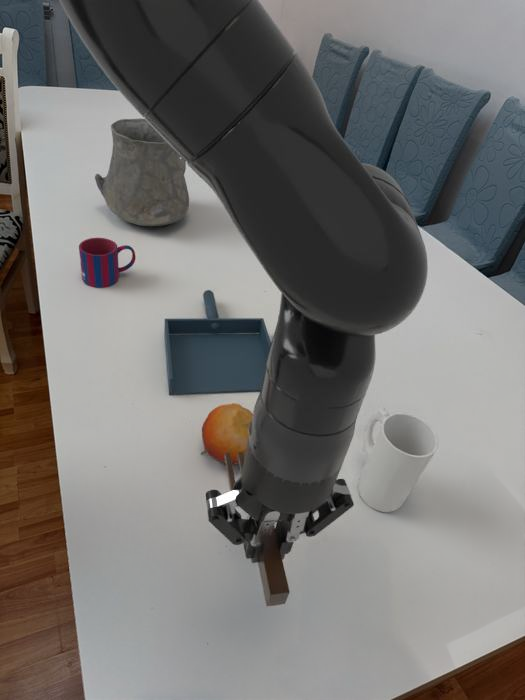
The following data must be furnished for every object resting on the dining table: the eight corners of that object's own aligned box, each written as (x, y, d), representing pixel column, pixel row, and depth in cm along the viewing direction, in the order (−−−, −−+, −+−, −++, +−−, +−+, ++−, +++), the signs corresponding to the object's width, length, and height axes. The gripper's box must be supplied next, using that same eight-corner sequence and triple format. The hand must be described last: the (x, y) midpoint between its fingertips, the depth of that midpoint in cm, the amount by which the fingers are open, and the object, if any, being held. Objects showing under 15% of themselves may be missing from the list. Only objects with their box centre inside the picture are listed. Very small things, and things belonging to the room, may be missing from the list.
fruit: (197, 411, 71) (230, 384, 66) (240, 442, 73) (274, 418, 68) (178, 455, 65) (213, 429, 60) (225, 487, 67) (262, 464, 62)
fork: (303, 601, 46) (308, 589, 44) (248, 609, 45) (251, 597, 43) (267, 457, 58) (270, 444, 56) (223, 461, 57) (225, 447, 55)
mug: (415, 507, 66) (450, 449, 58) (373, 521, 63) (403, 463, 55) (374, 448, 72) (401, 390, 65) (335, 458, 70) (357, 399, 62)
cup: (80, 269, 96) (77, 238, 92) (133, 267, 100) (132, 236, 95) (83, 288, 92) (80, 256, 87) (138, 285, 95) (138, 254, 91)
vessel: (110, 244, 105) (105, 148, 92) (92, 199, 120) (85, 111, 107) (208, 237, 113) (215, 148, 101) (179, 195, 128) (182, 113, 115)
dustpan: (278, 390, 79) (281, 375, 76) (168, 395, 74) (169, 378, 72) (250, 300, 96) (253, 286, 94) (161, 300, 92) (161, 285, 90)
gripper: (214, 489, 33) (199, 601, 44) (399, 472, 37) (342, 581, 48) (202, 407, 39) (192, 525, 50) (364, 399, 42) (320, 511, 53)
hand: (265, 552), depth 49 cm, fingers closed on fork, 2 cm apart
